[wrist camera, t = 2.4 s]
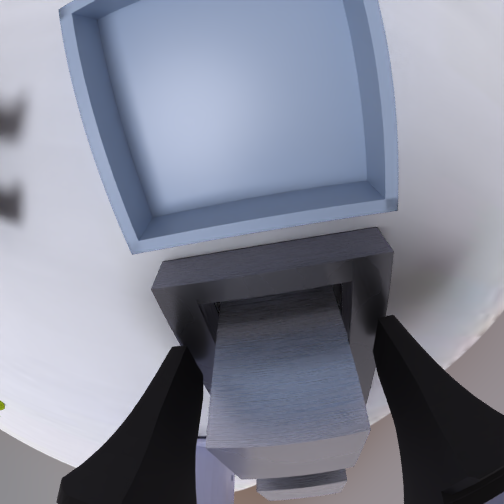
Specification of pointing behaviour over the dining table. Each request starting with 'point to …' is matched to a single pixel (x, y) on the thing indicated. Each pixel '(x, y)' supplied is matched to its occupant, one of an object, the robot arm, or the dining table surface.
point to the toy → (2, 405)
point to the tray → (234, 113)
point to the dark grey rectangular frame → (280, 289)
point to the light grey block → (285, 387)
